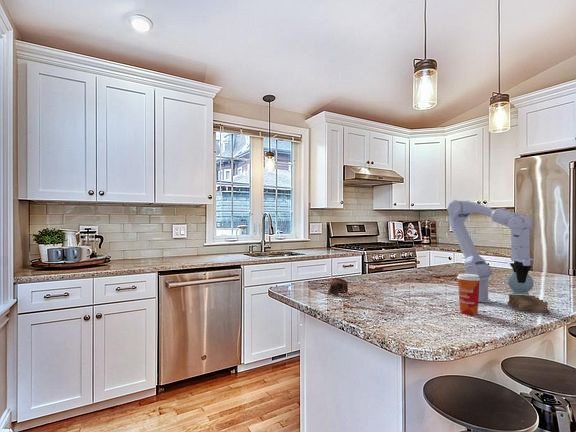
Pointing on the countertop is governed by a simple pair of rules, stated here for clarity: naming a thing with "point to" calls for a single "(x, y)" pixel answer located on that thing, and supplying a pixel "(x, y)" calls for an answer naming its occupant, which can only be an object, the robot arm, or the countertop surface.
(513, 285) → the grey rounded disc
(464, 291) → the paper cup
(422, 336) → the countertop surface
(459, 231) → the robot arm
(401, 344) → the countertop surface
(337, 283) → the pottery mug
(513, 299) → the rack
